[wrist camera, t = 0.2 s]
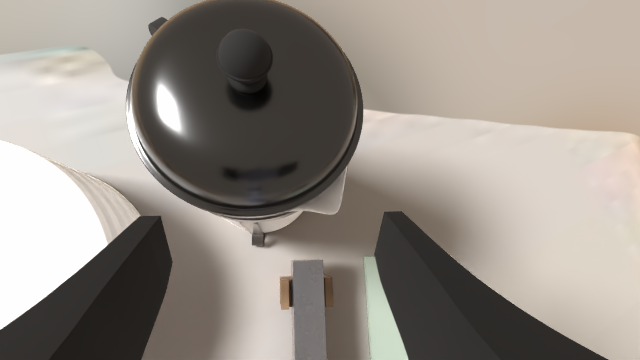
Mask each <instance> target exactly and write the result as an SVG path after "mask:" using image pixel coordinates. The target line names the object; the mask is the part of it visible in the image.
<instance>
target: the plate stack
mask: <svg viewBox="0 0 640 360" xmlns="http://www.w3.org/2000/svg"><path fill="white" fill-rule="evenodd" d="M139 216H141V215H140V214H139V212H138V211H137V210H136V208H135V207H134V206H133V205H132V204H131V203H130V202H129V201H128V200H127V199H126V198H125V197H124V196H123V195H122V194H121V193H119V192H118V191H117V190H116V189H114V188H113V187H111V186H110V185H108V184H106V183H104V182H103V181H101V180H99V179H97V178H94V177H92V176H90V175H87V174H85V173H82V172H80V171H78V170H75V169H73V168H70V167H68V166H66V165H63V164H61V163H58V162H56V161H53V160H51V159H49V158H46V157H44V156H41V155H39V154H37V153H34V152H32V151H30V150H27V149H25V148H22V147H20V146H17V145H14V144H11V143H8V142H5V141H1V140H0V329H2V328H3V327H5V326H6V325H8V324H9V323H10V322H12V321H13V320H15V319H16V318H17V317H19V316H20V315H22V314H23V313H25V312H26V311H27V310H29V309H30V308H31V307H33V306H34V305H35V304H37V303H38V302H39V301H41V300H42V299H43V298H45V297H46V296H47V295H48V294H50V293H51V292H52V291H53V290H55V289H56V288H57V287H58V286H60V285H61V284H62V283H63V282H65V281H66V280H67V279H68V278H70V277H71V276H72V275H73V274H74V273H76V272H77V271H78V270H79V269H81V268H82V267H83V266H84V265H85V264H86V263H88V262H89V261H90V260H91V259H92V258H93V257H95V256H96V255H97V254H98V253H99V252H100V251H101V250H102V249H104V248H105V247H106V246H107V245H108V244H109V243H110V242H111V241H113V240H114V239H115V238H116V237H117V236H118V235H119V234H120V233H121V232H123V231H124V230H125V229H126V228H127V227H128V226H129V225H130V224H131V223H133V222H134V221H135V220H136V219H137V218H138V217H139Z"/></svg>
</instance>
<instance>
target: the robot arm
mask: <svg viewBox="0 0 640 360" xmlns="http://www.w3.org/2000/svg"><path fill="white" fill-rule="evenodd" d="M374 255H375V260H376V264H377V269H378V273H379V277H380V281H381V284H382V287H383V290H384V293H385V295H386V298H387V301H388V304H389V306H390V309H391V312H392V314H393V317H394V320H395V323H396V325H397V328H398V331H399V333H400V336H401V339H402V341H403V344H404V347H405V350H406V353H407V356H408V360H608V359H606V358H604V357H602V356H600V355H598V354H596V353H595V352H593V351H591V350H589V349H587V348H585V347H584V346H582V345H580V344H578V343H576V342H575V341H573V340H571V339H569V338H567V337H566V336H564V335H562V334H560V333H559V332H557V331H555V330H554V329H552V328H550V327H548V326H547V325H545V324H544V323H542V322H540V321H539V320H537V319H536V318H534V317H532V316H531V315H529V314H528V313H526V312H524V311H523V310H521V309H520V308H518V307H517V306H515V305H514V304H512V303H511V302H509V301H508V300H506V299H505V298H504V297H502V296H501V295H499V294H498V293H497V292H495V291H494V290H492V289H491V288H490V287H488V286H487V285H486V284H484V283H483V282H482V281H480V280H479V279H478V278H476V277H475V276H474V275H473V274H471V273H470V272H469V271H468V270H466V269H465V268H464V267H463V266H461V265H460V264H459V263H458V262H457V261H456V260H454V259H453V258H452V257H451V256H450V255H449V254H447V253H446V252H445V251H444V250H443V249H442V248H441V247H440V246H438V245H437V244H436V243H435V242H434V241H433V240H432V239H431V238H430V237H429V236H428V235H426V234H425V233H424V232H423V231H422V230H421V229H420V228H419V227H418V226H417V225H416V224H415V223H414V222H413V221H412V220H410V219H409V218H408V217H407V216H406V215H405V214H404V213H403V212H402V211H401V212H384V216H383V220H382V224H381V228H380V233H379V237H378V241H377V245H376V250H375V254H374ZM171 267H172V258H171V255H170V251H169V247H168V243H167V239H166V235H165V231H164V227H163V224H162V220H161V216H139V217H138V218H137V219H136V220H135V221H134V222H133V223H131V224H130V225H129V226H128V227H127V228H126V229H125V230H124V231H123V232H121V233H120V234H119V235H118V236H117V237H116V238H115V239H114V240H113V241H111V242H110V243H109V244H108V245H107V246H106V247H105V248H104V249H102V250H101V251H100V252H99V253H98V254H97V255H96V256H95V257H93V258H92V259H91V260H90V261H89V262H88V263H86V264H85V265H84V266H83V267H82V268H81V269H79V270H78V271H77V272H76V273H74V274H73V275H72V276H71V277H70V278H68V279H67V280H66V281H65V282H63V283H62V284H61V285H60V286H58V287H57V288H56V289H55V290H53V291H52V292H51V293H50V294H48V295H47V296H46V297H45V298H43V299H42V300H41V301H39V302H38V303H37V304H35V305H34V306H33V307H31V308H30V309H29V310H27V311H26V312H25V313H23V314H22V315H20V316H19V317H17V318H16V319H15V320H13V321H12V322H10V323H9V324H8V325H6V326H5V327H3V328H2V329H0V360H141V358H142V356H143V353H144V350H145V348H146V345H147V342H148V339H149V337H150V334H151V331H152V329H153V326H154V323H155V321H156V318H157V315H158V312H159V310H160V307H161V304H162V301H163V298H164V296H165V293H166V289H167V285H168V280H169V276H170V271H171Z"/></svg>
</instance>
